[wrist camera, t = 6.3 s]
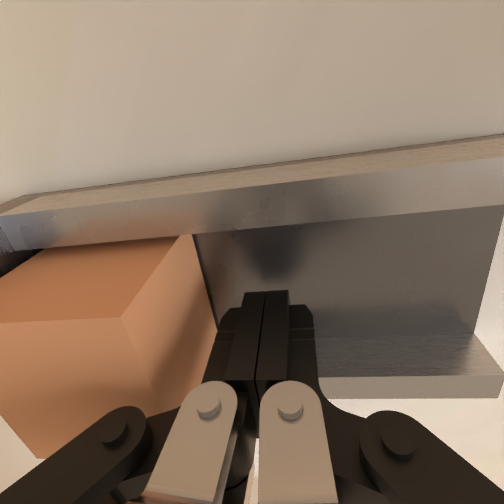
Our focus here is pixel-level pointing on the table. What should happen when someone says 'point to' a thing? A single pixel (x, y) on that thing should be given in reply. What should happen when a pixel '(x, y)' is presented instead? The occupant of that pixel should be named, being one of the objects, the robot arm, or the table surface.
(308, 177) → the chute
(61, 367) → the block
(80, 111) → the table surface
